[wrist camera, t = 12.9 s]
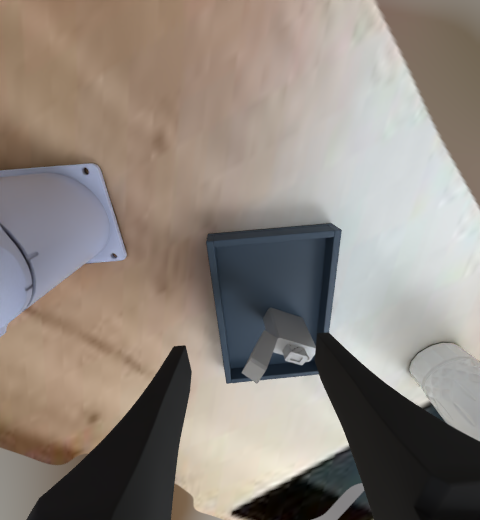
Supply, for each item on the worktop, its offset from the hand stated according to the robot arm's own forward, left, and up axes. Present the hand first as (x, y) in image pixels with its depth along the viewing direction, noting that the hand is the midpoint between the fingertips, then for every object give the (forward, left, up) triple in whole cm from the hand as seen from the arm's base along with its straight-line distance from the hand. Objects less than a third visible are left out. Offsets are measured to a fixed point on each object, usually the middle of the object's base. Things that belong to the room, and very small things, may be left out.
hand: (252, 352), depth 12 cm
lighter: (+3, -6, -10) cm, 12 cm away
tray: (+3, -5, -10) cm, 12 cm away
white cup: (+24, -16, -11) cm, 31 cm away
